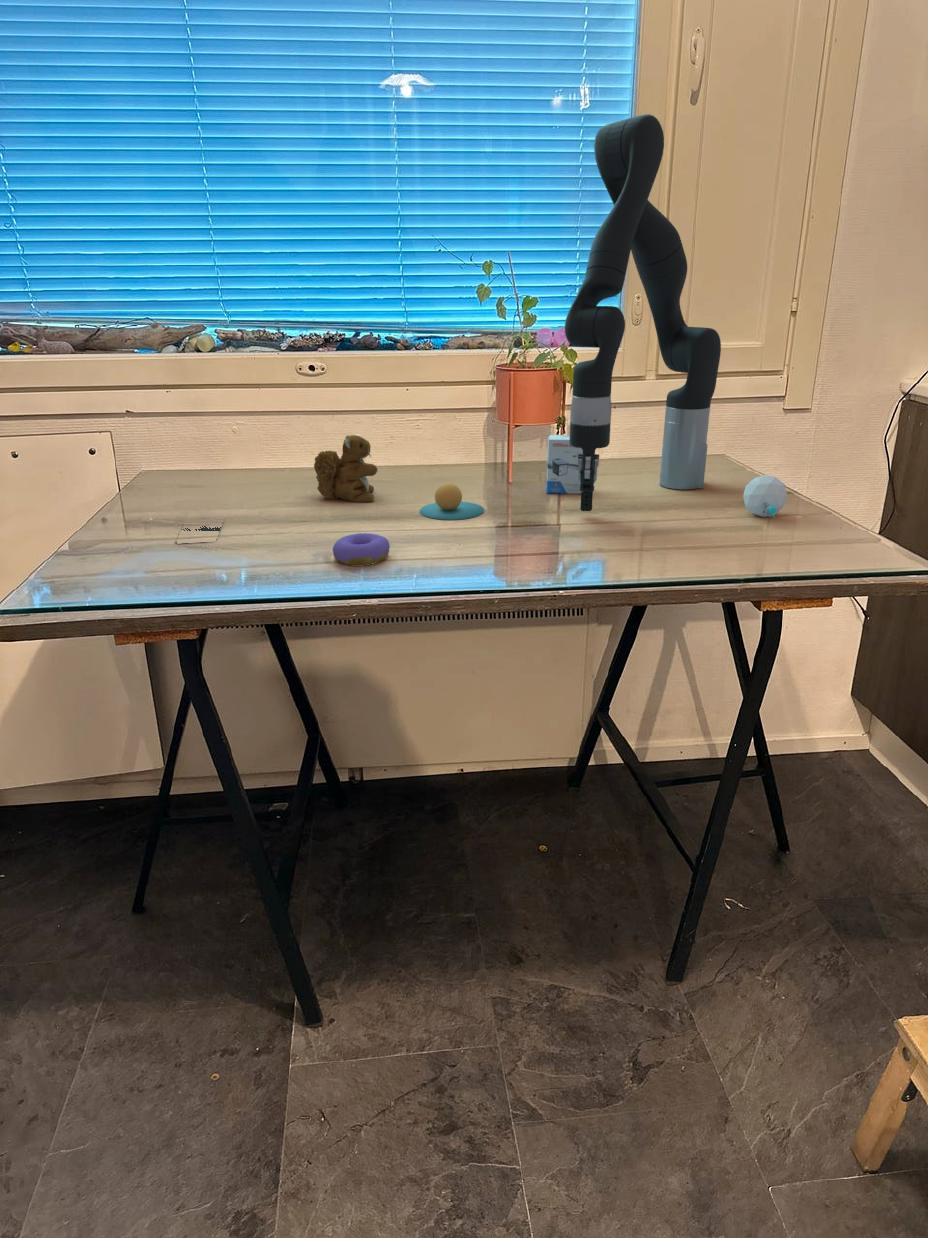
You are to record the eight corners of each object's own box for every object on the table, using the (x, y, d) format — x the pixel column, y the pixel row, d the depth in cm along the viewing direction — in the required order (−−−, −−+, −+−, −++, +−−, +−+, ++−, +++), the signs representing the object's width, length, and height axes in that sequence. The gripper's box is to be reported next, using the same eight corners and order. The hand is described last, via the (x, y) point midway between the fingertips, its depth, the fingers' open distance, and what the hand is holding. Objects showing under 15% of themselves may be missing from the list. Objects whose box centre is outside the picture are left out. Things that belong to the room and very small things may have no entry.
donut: (362, 544, 145) (364, 519, 143) (399, 564, 141) (402, 539, 138) (319, 558, 138) (321, 533, 136) (357, 581, 134) (360, 554, 131)
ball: (437, 502, 168) (462, 508, 168) (429, 510, 164) (455, 516, 163) (441, 477, 166) (467, 483, 165) (433, 484, 161) (459, 490, 160)
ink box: (546, 493, 176) (547, 439, 171) (546, 488, 181) (547, 434, 176) (586, 494, 175) (588, 439, 171) (585, 488, 180) (587, 434, 175)
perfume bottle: (789, 491, 161) (804, 516, 150) (751, 514, 164) (763, 539, 154) (770, 461, 158) (784, 483, 148) (732, 484, 161) (743, 507, 151)
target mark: (488, 503, 170) (488, 502, 170) (478, 521, 158) (478, 520, 158) (427, 501, 172) (427, 500, 172) (413, 518, 160) (413, 517, 160)
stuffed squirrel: (376, 502, 172) (373, 440, 166) (310, 503, 172) (304, 440, 167) (381, 490, 181) (378, 431, 176) (318, 491, 181) (313, 431, 176)
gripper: (610, 426, 145) (605, 520, 152) (611, 414, 157) (606, 501, 164) (568, 426, 146) (564, 519, 153) (571, 413, 158) (568, 500, 165)
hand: (586, 509), depth 159 cm, fingers closed
